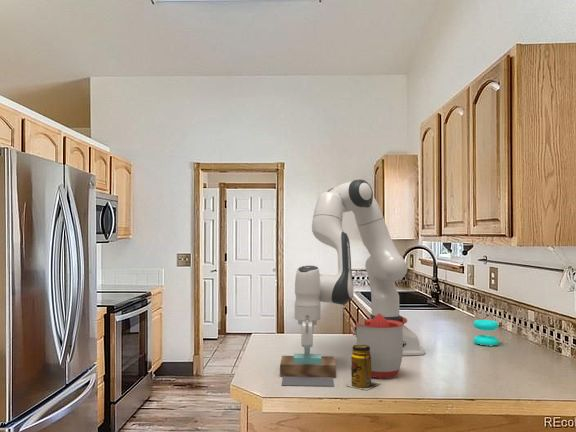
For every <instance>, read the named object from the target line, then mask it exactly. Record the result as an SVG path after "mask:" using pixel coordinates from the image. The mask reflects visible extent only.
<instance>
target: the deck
mask: <svg viewBox="0 0 576 432" xmlns="http://www.w3.org/2000/svg"><path fill="white" fill-rule="evenodd" d="M283 377H333V379H336V378H337V365H336V359H335V355H334V356H333V355H332V356H331V355H329V356H327V355H325V356H324V355H323V356H322V355H321V365H312V364H294V355H282V356H281V359H280V362H279V378H283Z"/></svg>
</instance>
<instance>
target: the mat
mask: <svg viewBox="0 0 576 432" xmlns="http://www.w3.org/2000/svg"><path fill="white" fill-rule="evenodd" d="M281 387H319V388H320V387H321V388H322V387H324V388H330V387H331V388H335V383H334V378H333V377H282V380H281Z"/></svg>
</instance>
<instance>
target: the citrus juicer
mask: <svg viewBox="0 0 576 432" xmlns="http://www.w3.org/2000/svg"><path fill="white" fill-rule="evenodd" d="M352 336H355V337H356V345H367V346H369V347H370V355H371V378H379V379H382V380H386V379H389V378H394V377H397V376H398V374H399V372H400V369H401V365H402V359H403V355H402V353H403V323H402V322H399V321H394V320H386V319H385V318H384V317H383V316H382V315H381V314H380V313H379V314H377V315H376V316H375V317H374V318H373V319H370V318H367V319H364V324H361V323H360V322H358V321H355V330H354V331H353V332H352Z"/></svg>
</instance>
